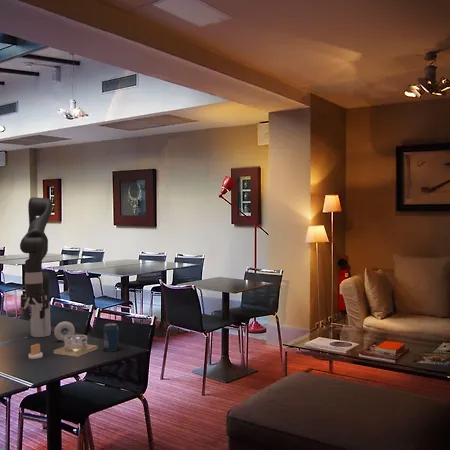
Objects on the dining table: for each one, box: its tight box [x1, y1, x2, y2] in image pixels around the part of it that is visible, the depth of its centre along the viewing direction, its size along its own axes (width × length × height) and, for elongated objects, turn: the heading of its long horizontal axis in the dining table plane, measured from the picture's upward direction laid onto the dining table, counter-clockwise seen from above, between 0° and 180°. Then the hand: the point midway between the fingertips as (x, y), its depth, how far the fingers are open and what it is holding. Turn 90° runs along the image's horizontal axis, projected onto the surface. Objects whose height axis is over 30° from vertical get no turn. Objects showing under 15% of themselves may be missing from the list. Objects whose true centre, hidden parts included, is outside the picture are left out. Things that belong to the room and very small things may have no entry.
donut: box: [53, 321, 76, 342], centre depth 257 cm, size 10×4×10 cm, turn 113°
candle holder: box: [53, 334, 99, 358], centre depth 238 cm, size 14×14×6 cm
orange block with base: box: [28, 343, 44, 360], centre depth 230 cm, size 6×6×6 cm
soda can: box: [102, 322, 120, 352], centre depth 240 cm, size 7×7×12 cm
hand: (34, 317), depth 229 cm, fingers open, 8 cm apart
